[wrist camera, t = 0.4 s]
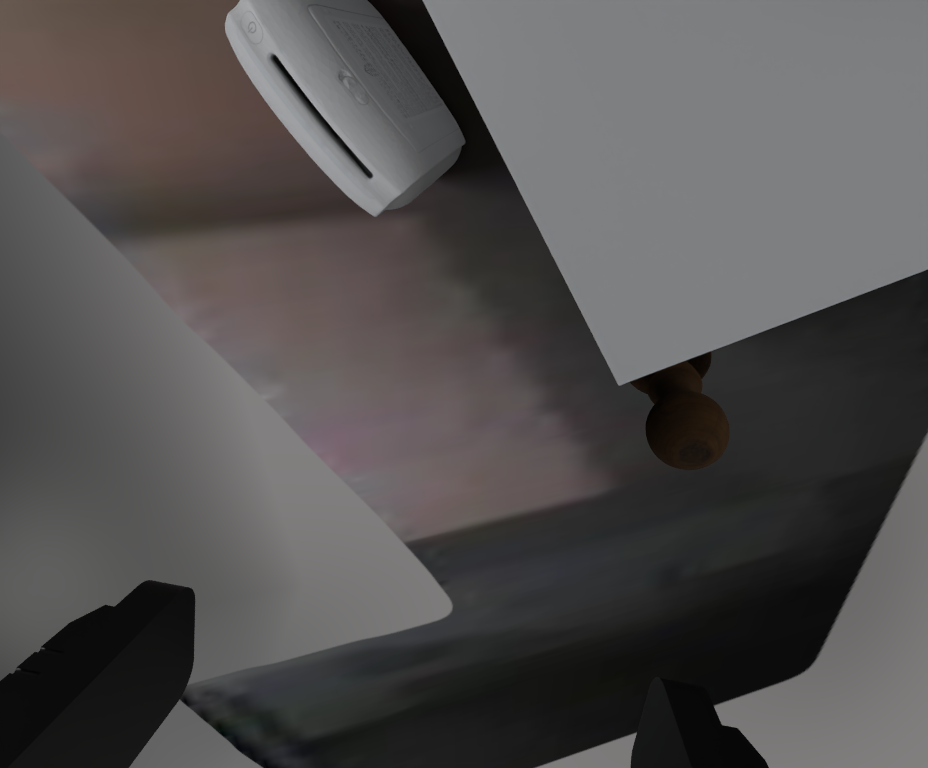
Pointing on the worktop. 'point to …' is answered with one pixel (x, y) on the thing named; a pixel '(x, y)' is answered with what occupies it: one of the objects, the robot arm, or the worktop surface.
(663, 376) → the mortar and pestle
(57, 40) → the worktop surface
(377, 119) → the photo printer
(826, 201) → the stand
